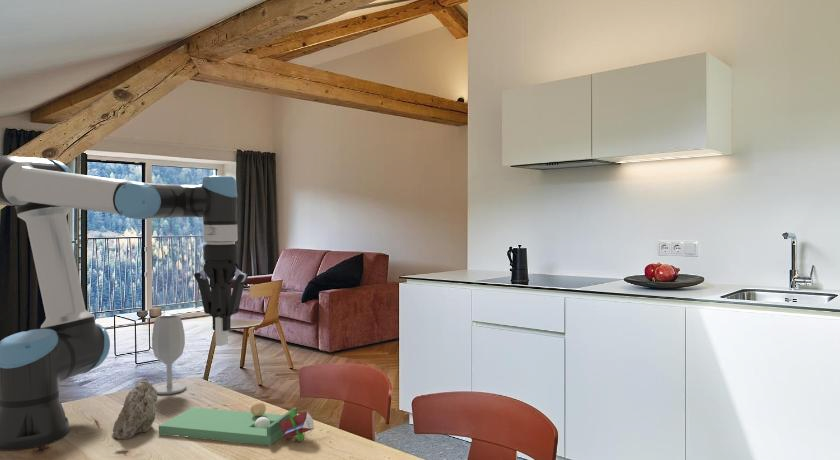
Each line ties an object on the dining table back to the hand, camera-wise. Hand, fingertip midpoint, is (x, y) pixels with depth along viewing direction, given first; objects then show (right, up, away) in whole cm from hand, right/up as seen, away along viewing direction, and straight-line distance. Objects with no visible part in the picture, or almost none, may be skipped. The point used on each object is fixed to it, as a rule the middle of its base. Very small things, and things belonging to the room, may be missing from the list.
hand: (221, 344), depth 143 cm
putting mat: (+2, -20, 0) cm, 20 cm away
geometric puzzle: (+19, -20, -7) cm, 28 cm away
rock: (-20, -20, 0) cm, 28 cm away
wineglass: (-24, -19, +30) cm, 43 cm away
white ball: (+10, -18, -2) cm, 21 cm away
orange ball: (+8, -16, +3) cm, 18 cm away
